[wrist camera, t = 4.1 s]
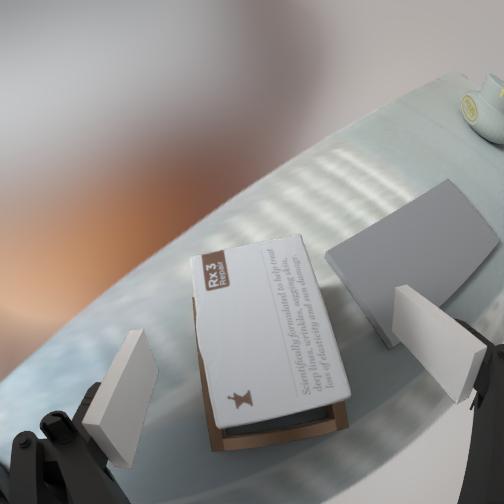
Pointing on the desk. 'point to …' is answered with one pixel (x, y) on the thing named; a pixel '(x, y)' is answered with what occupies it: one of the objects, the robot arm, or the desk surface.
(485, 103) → the air freshener
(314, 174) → the desk surface
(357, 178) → the desk surface
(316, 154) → the desk surface
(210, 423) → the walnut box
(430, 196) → the slate board
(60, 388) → the desk surface
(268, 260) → the skincare box
